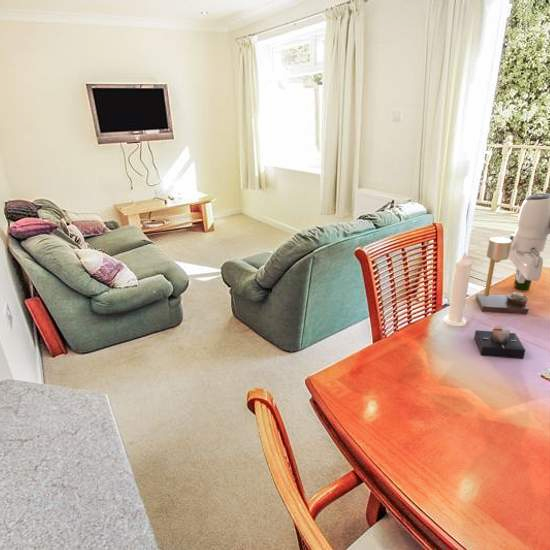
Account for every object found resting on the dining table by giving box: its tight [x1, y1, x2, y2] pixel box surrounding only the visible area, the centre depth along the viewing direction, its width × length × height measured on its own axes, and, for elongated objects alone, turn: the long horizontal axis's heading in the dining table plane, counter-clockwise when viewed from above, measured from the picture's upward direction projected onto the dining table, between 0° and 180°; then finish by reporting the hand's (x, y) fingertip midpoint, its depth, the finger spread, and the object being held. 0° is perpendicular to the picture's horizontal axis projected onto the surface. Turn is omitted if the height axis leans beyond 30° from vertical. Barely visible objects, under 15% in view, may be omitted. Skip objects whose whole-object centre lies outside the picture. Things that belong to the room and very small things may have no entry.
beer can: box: [512, 275, 532, 293], centre depth 142 cm, size 5×5×12 cm
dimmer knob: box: [491, 325, 511, 344], centre depth 110 cm, size 4×4×4 cm
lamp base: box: [475, 292, 529, 315], centre depth 133 cm, size 15×10×4 cm
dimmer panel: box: [473, 329, 526, 360], centre depth 111 cm, size 11×9×3 cm
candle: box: [443, 252, 472, 328], centre depth 121 cm, size 7×7×25 cm
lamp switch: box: [512, 291, 524, 300], centre depth 131 cm, size 3×3×2 cm
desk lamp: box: [483, 236, 512, 297], centre depth 129 cm, size 6×6×21 cm
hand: (519, 281), depth 128 cm, fingers closed
